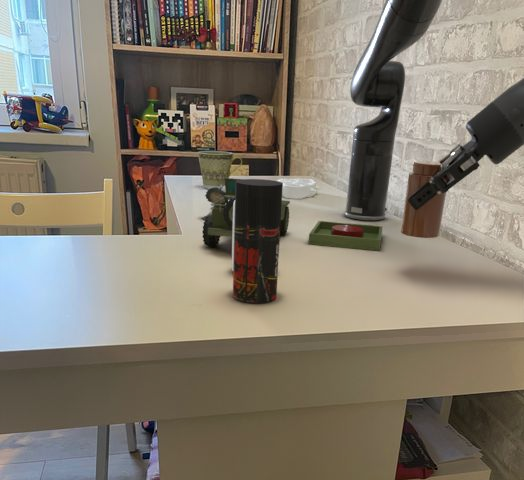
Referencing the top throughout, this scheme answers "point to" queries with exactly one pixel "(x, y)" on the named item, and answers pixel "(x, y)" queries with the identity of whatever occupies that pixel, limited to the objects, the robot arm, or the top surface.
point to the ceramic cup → (216, 167)
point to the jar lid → (347, 231)
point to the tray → (324, 237)
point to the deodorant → (256, 239)
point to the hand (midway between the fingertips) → (411, 201)
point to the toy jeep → (231, 217)
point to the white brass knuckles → (298, 188)
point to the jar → (430, 214)
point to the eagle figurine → (214, 197)
